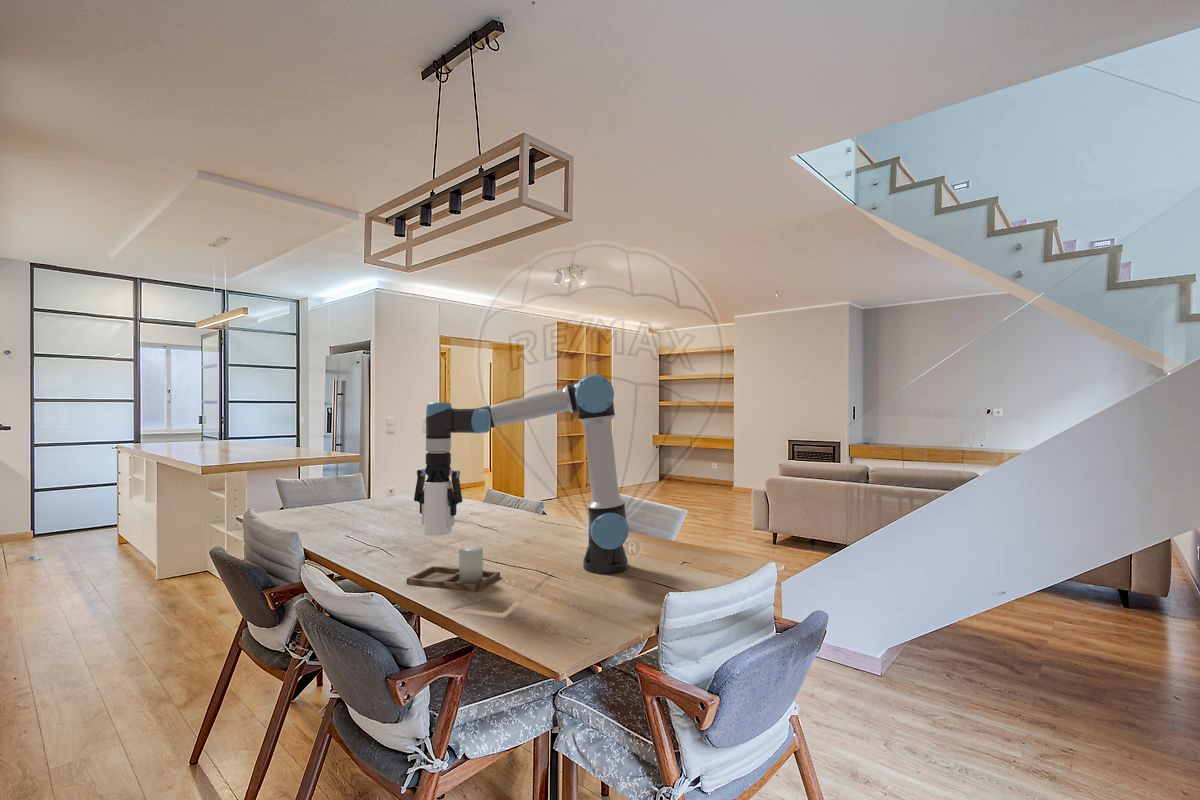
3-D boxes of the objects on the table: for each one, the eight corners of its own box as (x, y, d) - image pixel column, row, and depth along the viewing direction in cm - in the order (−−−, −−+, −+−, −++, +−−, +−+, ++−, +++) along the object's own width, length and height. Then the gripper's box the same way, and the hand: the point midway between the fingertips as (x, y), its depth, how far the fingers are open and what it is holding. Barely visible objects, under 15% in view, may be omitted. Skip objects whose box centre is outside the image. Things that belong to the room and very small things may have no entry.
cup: (455, 529, 179) (455, 479, 179) (445, 535, 170) (446, 482, 170) (430, 529, 179) (430, 478, 179) (419, 535, 171) (419, 482, 171)
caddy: (499, 580, 177) (500, 572, 177) (478, 594, 163) (478, 586, 163) (432, 573, 183) (432, 565, 183) (406, 586, 170) (406, 578, 170)
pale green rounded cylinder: (486, 579, 174) (486, 547, 174) (475, 586, 167) (475, 552, 167) (466, 577, 176) (466, 545, 176) (454, 584, 169) (454, 551, 169)
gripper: (474, 451, 176) (474, 524, 176) (415, 449, 181) (415, 520, 181) (462, 454, 168) (462, 530, 168) (401, 451, 174) (401, 525, 174)
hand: (437, 525), depth 175 cm, fingers closed on cup, 8 cm apart
